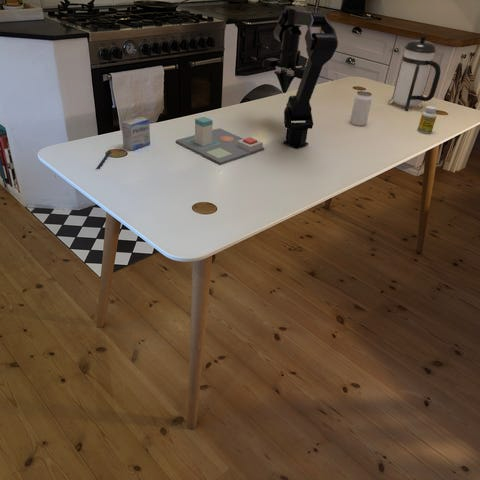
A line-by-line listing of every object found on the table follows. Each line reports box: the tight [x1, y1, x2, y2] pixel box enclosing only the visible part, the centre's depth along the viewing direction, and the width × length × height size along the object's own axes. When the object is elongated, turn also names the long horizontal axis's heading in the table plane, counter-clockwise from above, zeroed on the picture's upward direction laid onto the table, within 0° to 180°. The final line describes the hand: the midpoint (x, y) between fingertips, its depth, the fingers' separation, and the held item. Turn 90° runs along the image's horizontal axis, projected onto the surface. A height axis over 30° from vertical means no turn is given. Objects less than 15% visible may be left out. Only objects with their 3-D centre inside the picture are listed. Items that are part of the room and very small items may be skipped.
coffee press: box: [388, 34, 441, 112], centre depth 199 cm, size 17×16×30 cm
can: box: [349, 90, 373, 127], centre depth 181 cm, size 6×6×12 cm
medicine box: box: [120, 116, 151, 152], centre depth 148 cm, size 8×4×9 cm, turn 143°
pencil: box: [95, 149, 112, 170], centre depth 141 cm, size 1×1×15 cm
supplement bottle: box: [417, 105, 438, 135], centre depth 179 cm, size 5×5×10 cm
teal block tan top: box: [194, 116, 213, 146], centre depth 152 cm, size 4×4×8 cm
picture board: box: [175, 127, 265, 166], centre depth 155 cm, size 22×20×3 cm
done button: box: [243, 136, 258, 145], centre depth 154 cm, size 3×3×2 cm
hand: (284, 92), depth 167 cm, fingers closed
